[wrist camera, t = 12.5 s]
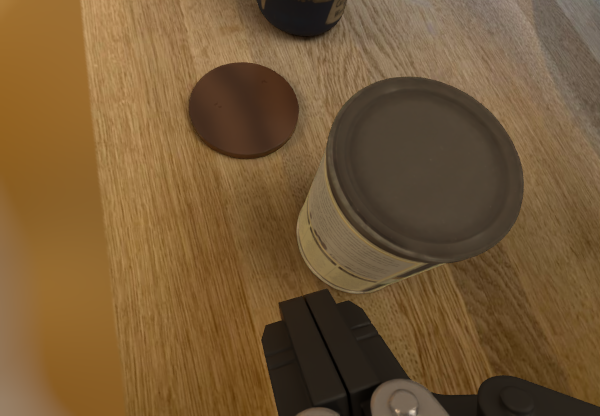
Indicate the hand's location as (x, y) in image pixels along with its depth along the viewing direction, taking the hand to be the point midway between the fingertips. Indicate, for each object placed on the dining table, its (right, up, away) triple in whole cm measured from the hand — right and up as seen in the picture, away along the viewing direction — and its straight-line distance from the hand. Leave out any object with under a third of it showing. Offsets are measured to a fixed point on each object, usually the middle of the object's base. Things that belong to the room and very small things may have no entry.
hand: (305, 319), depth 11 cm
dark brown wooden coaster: (-5, +12, +23) cm, 27 cm away
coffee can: (+4, +1, +21) cm, 21 cm away
